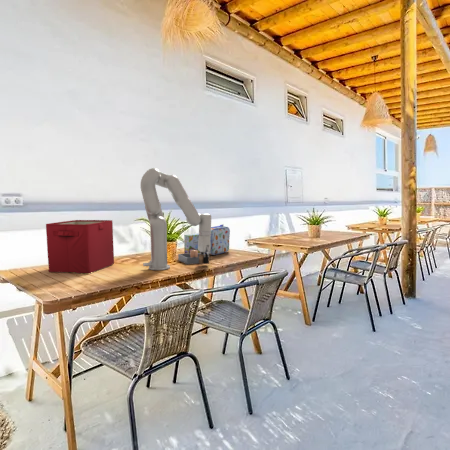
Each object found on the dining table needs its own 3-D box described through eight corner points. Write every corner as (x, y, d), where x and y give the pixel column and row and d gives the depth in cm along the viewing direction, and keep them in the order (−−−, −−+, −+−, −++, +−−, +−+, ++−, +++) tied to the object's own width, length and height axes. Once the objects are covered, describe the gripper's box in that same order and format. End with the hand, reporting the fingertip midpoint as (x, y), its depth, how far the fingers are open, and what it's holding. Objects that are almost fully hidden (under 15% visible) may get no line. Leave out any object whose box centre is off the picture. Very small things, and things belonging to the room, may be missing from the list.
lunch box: (220, 250, 268) (220, 223, 267) (231, 251, 263) (231, 223, 261) (200, 255, 245) (200, 226, 243) (212, 257, 240) (212, 226, 238)
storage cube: (87, 275, 186) (85, 223, 184) (44, 273, 191) (42, 223, 189) (117, 263, 217) (115, 219, 215) (79, 262, 223) (77, 219, 220)
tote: (186, 264, 213) (186, 258, 213) (178, 259, 229) (178, 254, 229) (206, 262, 219) (206, 256, 219) (196, 258, 235) (196, 252, 235)
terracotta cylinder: (191, 261, 218) (191, 251, 217) (189, 260, 222) (189, 250, 222) (198, 261, 220) (198, 251, 219) (196, 260, 224) (196, 249, 224)
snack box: (189, 255, 247) (189, 235, 246) (184, 254, 251) (183, 234, 249) (207, 251, 264) (207, 232, 263) (202, 251, 268) (202, 232, 266)
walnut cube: (201, 264, 205) (202, 255, 205) (198, 262, 210) (199, 254, 209) (209, 263, 208) (209, 255, 207) (206, 262, 212) (206, 254, 212)
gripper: (194, 232, 213) (193, 260, 215) (204, 235, 198) (203, 265, 199) (205, 232, 217) (204, 259, 218) (215, 234, 201) (215, 264, 203)
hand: (204, 262), depth 209 cm, fingers closed on walnut cube, 5 cm apart
